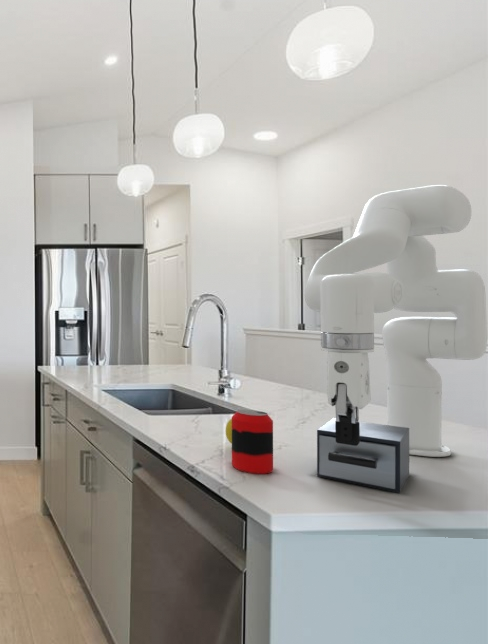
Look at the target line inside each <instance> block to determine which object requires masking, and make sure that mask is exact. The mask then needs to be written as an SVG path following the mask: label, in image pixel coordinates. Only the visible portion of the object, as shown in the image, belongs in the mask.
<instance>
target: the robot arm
mask: <svg viewBox="0 0 488 644" xmlns="http://www.w3.org/2000/svg"><path fill="white" fill-rule="evenodd" d="M471 218H472V205H471V202H470V200H469V198H468V197H467V196H466V194H465V193H464V192H463V191H460V190H458V189H457V188H456V187H453V186H451V185H445V184H433V185H426V186H419V187H411V188H405V189H398V190H391V191H386V192H382V193H379V194H377V195H374V196H373V197H371V198H370V199H369V200H368V201H367V202H366V203H365V205H364V207H363V210H362V213H361V215H360V217H359V220H358V222H357V225H356V228H355V231H354V232H353V236H352V237H350V238H349V239H346V240H344V241H343V242H341V243H339V244H338V245H336V246H335V247H333V248H332V249H330V250H329V251H327V252H325V253H324V254H322V255H321V256H320V257H319V258H318V259H317V260H316V262H315V263H314V265H313V267H312V269H311V271H310V273H309V275H308V278H307V281H306V284H305V288H304V302H305V303H306V305H307V307H308V308H309V309H310V310H312V311H313V312H317V313H320V350H321V351H325V352H327V361H326V363H327V367H326V368H327V371H326V372H327V374H326V376H327V377H326V386H327V387H326V388H327V389H326V391H327V394H326V395H327V403H328V405H330V406H331V407H335V418H336V421H335V427H336V442H337V443H340V444H347V445H353V446H357V445H358V444H359V443H360V425H359V422H360V420H359V419H360V410H363V409H364V408H365V407H367V406H368V405H369V404H370V402H371V400H372V398H371V397H372V395H371V376H370V375H371V374H370V361H369V354H368V353H374V352H375V314H383V313H387V312H390V311H392V310H393V309H394V310H396V311H398V312H399V311H400V312H408V313H410V312H411V313H450V314H453V315H454V316H455V317H451V316H450V317H444V316H443V317H441V316H436V317H435V316H402V317H396V318H392V319H390V320H388V321H387V322H385V323H384V325H383V327H382V330H381V336H382V337H381V339H382V343H383V344H382V345H383V349H384V354H385V361H386V425H390V426H398V427H406V428H409V455H412V456H418V457H428V458H429V457H431V458H432V457H433V458H441V457H442V458H444V457H449V456H451V455H452V449H451V448H450V447H448V446H445V445H442V420H443V419H442V417H443V416H442V410H443V409H442V408H443V407H442V405H443V403H442V401H443V400H442V399H443V398H442V397H443V395H442V393H443V392H442V388H443V387H442V385H443V384H442V381H443V380H442V377H441V373H440V372H439V371H438V370H437V369H436V368H435V367H434V366H433V365H432V364H431V363H430V362H429V361H428V360H427V359H438V360H439V359H440V360H457V361H458V360H459V361H474V360H478V359H480V358H482V357H483V356H484V355H485V354H486V351H487V347H488V326H487V325H488V323H487V297H486V287H485V282H484V279H483V278H482V276H481V275H480V274H479V273H478V272H477V271H474V270H471V269H438V268H437V256H436V255H437V254H436V253H437V252H436V248H435V246H434V245H433V243H431V242H430V241H429V239H427V238H426V237H425V236H433V235H434V236H435V235H445V234H446V235H448V234H454V233H460V232H461V231H464V229H466V228H467V227H468V225H469V224H470V221H471ZM385 264H386V272H362V271H365V270H369V269H372V268H376V267H378V266H379V267H380V266H381V265H385ZM360 272H361V273H360ZM358 421H359V422H358Z"/></svg>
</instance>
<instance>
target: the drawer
mask: <svg viewBox="0 0 488 644" xmlns="http://www.w3.org/2000/svg"><path fill="white" fill-rule="evenodd" d="M319 474H321V475H326V476H331V477H336V478H341V479H346V480H351V481H356V482H361V483H366V484H371V485H376V486H381V487H386V488H391V489H395V488H396V446H395V445H391V444H385V443H378V442H371V441H364V440H360V443H359V444H358V445H357V446H353V445H347V444H340V443H337V442H336V436H331V435H320V436H319Z"/></svg>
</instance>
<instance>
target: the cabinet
mask: <svg viewBox="0 0 488 644" xmlns="http://www.w3.org/2000/svg"><path fill="white" fill-rule="evenodd" d="M335 421H336V417H335V418H334V417H333V418H331V419H330V420H329V421H327V422H325V423H324V424H323V425H321V426H320V427H318V428H317V429H316V477H318V478H321V479H322V478H323V479H328V480H333V481H338V482H343V483H346V484H352V485H356V486H357V485H358V486H362V487H367V488H371V489H377V490H384V491H387V492H392V493H398V494H401V493H402V490H403V489H404V486H405V485H406V482H407V480H408V478H409V476H410V454H409V428H406V427H398V426H390V425H387V424H383V423H375V422H366V421H360V420H358V422H359V425H360V440H364V441H371V442H378V443H385V444H391V445H395V446H396V488H395V489H391V488H386V487H381V486H376V485H371V484H366V483H361V482H356V481H351V480H346V479H341V478H336V477H331V476H326V475H321V474H319V436H320V435H331V436H336V427H335Z"/></svg>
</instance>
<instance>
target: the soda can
mask: <svg viewBox="0 0 488 644" xmlns="http://www.w3.org/2000/svg"><path fill="white" fill-rule="evenodd" d="M231 419H232V444H231V465H232V467H233V468H234V469H236V470H238V471H240V472H244V473H249V474H255V475H257V474H258V475H266V474H267V475H268V474H270V473H272V472H273V471H274V420H273V419H272V418H271V417H270V415H269V414H268V413H267V412H265V411H262V410H255V409H238V410H236V412H234V414H233V415H232V416H231Z"/></svg>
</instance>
